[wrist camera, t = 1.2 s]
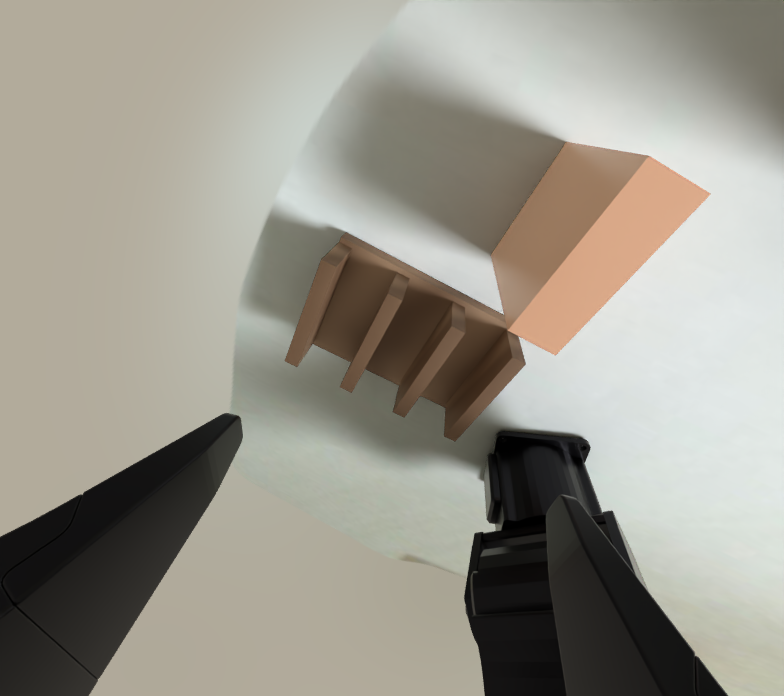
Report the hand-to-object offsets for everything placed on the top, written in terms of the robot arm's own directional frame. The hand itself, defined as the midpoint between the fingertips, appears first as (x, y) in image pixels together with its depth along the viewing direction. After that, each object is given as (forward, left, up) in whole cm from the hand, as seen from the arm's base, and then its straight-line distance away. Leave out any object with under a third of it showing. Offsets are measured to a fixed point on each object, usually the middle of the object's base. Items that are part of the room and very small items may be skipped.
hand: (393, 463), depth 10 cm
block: (-6, -4, -13) cm, 15 cm away
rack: (+1, +3, -13) cm, 14 cm away
